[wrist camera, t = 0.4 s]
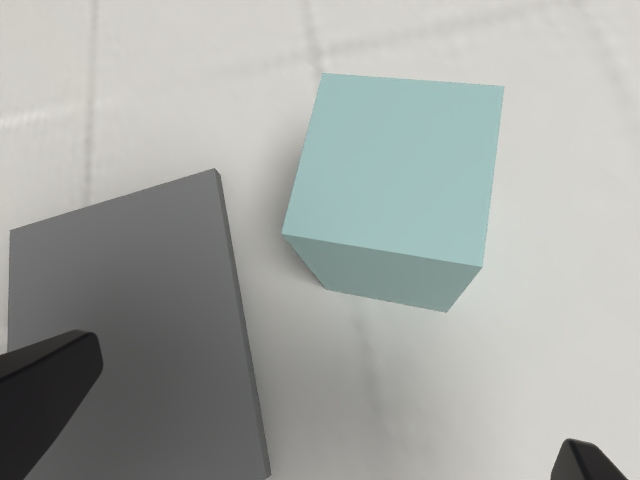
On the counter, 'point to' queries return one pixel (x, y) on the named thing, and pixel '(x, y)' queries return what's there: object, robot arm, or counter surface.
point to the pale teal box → (396, 187)
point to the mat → (145, 335)
